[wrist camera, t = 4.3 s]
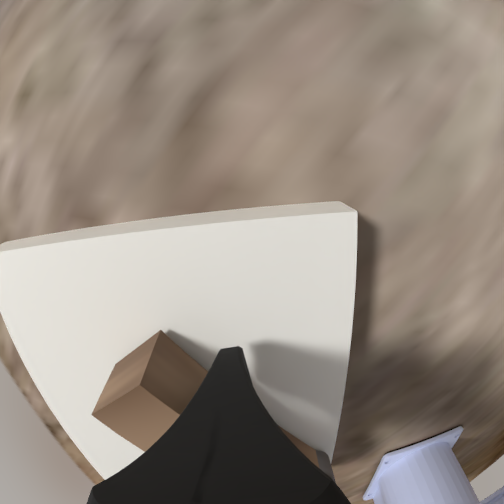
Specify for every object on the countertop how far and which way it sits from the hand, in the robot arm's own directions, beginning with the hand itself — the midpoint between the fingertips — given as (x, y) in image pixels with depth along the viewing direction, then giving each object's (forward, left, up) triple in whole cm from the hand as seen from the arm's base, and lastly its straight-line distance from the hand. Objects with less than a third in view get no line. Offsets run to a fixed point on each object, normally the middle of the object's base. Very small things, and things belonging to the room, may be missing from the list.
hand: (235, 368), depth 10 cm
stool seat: (-4, +3, -3) cm, 6 cm away
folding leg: (-5, 0, -1) cm, 5 cm away
